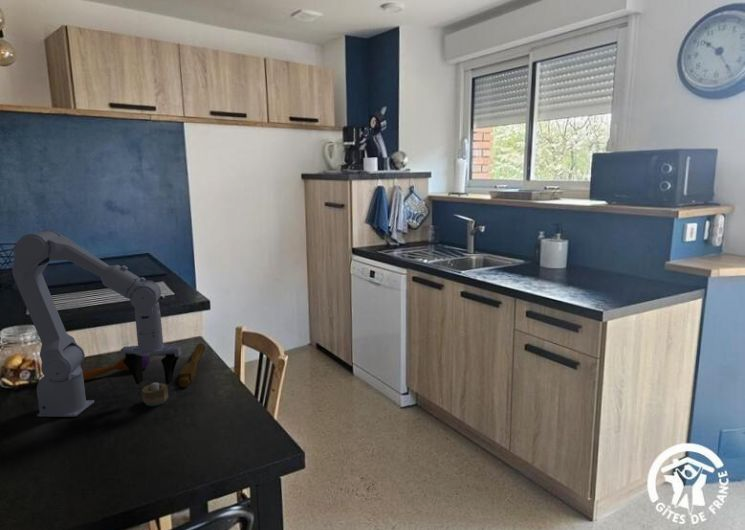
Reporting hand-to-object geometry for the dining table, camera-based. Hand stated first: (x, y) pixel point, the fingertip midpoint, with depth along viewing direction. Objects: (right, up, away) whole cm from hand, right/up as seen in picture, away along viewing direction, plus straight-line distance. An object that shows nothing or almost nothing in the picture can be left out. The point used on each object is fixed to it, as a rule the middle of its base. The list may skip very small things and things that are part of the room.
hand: (154, 382), depth 124 cm
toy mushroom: (0, -5, +1) cm, 5 cm away
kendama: (-20, -3, +19) cm, 28 cm away
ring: (0, -4, +1) cm, 4 cm away
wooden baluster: (+1, -2, +23) cm, 23 cm away
